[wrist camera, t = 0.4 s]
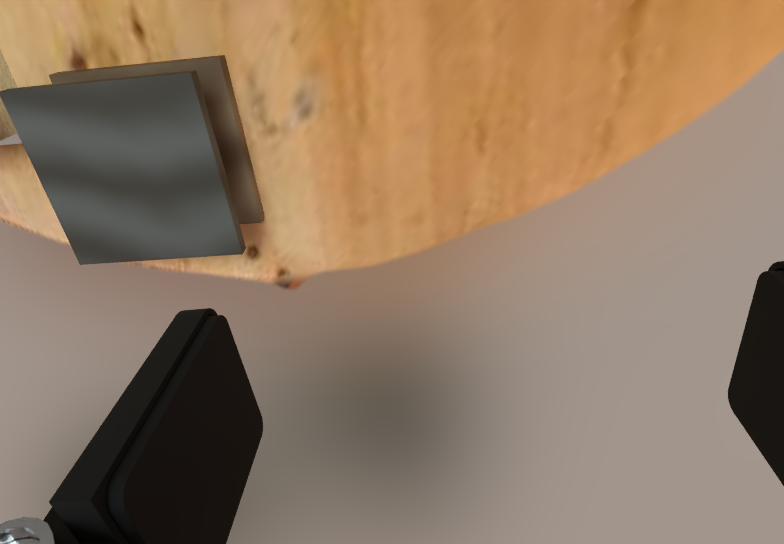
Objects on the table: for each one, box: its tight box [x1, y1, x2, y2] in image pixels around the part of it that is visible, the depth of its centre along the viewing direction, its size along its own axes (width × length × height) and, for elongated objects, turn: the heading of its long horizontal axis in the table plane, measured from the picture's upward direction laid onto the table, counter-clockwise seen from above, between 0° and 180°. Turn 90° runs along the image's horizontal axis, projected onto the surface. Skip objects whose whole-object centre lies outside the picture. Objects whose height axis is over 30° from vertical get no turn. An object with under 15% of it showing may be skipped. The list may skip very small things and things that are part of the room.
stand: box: [0, 55, 265, 265], centre depth 42 cm, size 14×14×7 cm
